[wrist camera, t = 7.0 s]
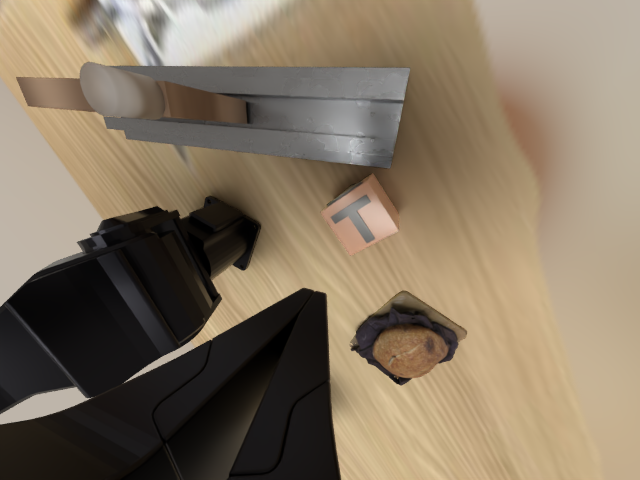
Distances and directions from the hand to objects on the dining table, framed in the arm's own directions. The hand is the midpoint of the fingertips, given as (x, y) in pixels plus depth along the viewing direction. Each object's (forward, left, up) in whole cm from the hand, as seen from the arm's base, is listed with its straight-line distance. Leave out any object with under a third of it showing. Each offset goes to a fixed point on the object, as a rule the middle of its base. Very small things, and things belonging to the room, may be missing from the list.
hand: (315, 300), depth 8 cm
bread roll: (-11, -10, -14) cm, 20 cm away
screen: (0, +17, -12) cm, 21 cm away
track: (+2, +13, -13) cm, 18 cm away
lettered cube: (0, 0, -13) cm, 13 cm away
